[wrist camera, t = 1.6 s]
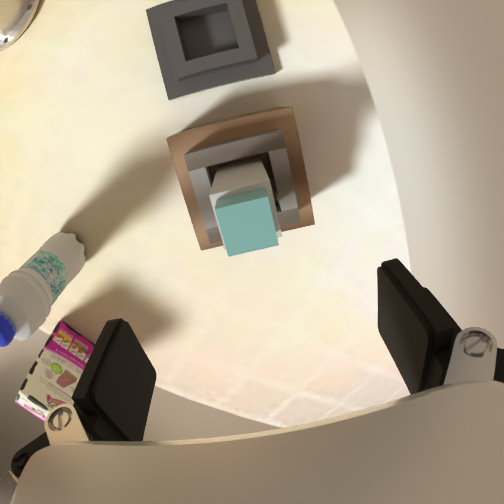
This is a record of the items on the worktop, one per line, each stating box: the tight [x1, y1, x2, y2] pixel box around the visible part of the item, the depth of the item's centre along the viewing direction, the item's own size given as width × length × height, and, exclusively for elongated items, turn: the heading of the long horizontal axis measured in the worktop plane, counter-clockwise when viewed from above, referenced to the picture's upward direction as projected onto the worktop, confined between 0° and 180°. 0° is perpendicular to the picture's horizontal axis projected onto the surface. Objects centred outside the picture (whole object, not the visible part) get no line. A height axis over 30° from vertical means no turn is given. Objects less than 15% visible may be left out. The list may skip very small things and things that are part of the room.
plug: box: [209, 157, 282, 256], centre depth 25 cm, size 4×4×12 cm
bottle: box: [0, 232, 86, 347], centre depth 31 cm, size 7×7×20 cm
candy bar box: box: [15, 321, 95, 421], centre depth 40 cm, size 11×5×16 cm, turn 47°
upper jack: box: [166, 107, 315, 250], centre depth 32 cm, size 12×12×10 cm
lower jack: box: [146, 0, 275, 100], centre depth 27 cm, size 12×12×4 cm
